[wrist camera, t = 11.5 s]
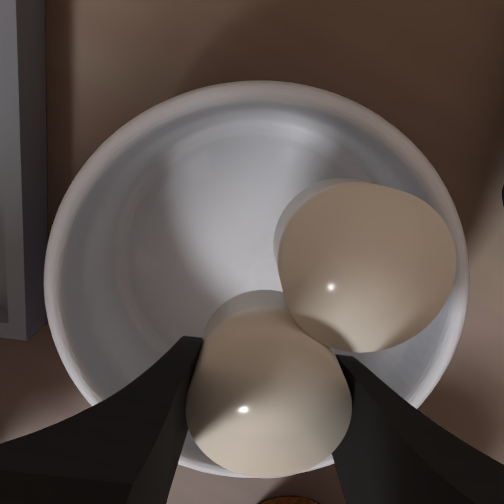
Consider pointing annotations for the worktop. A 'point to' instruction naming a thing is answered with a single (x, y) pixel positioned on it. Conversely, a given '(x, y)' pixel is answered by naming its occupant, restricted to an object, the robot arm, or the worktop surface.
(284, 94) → the dog bowl
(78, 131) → the worktop surface
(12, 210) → the parts tray
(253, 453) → the pebble
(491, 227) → the worktop surface
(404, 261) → the pebble
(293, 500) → the disposable coffee cup
